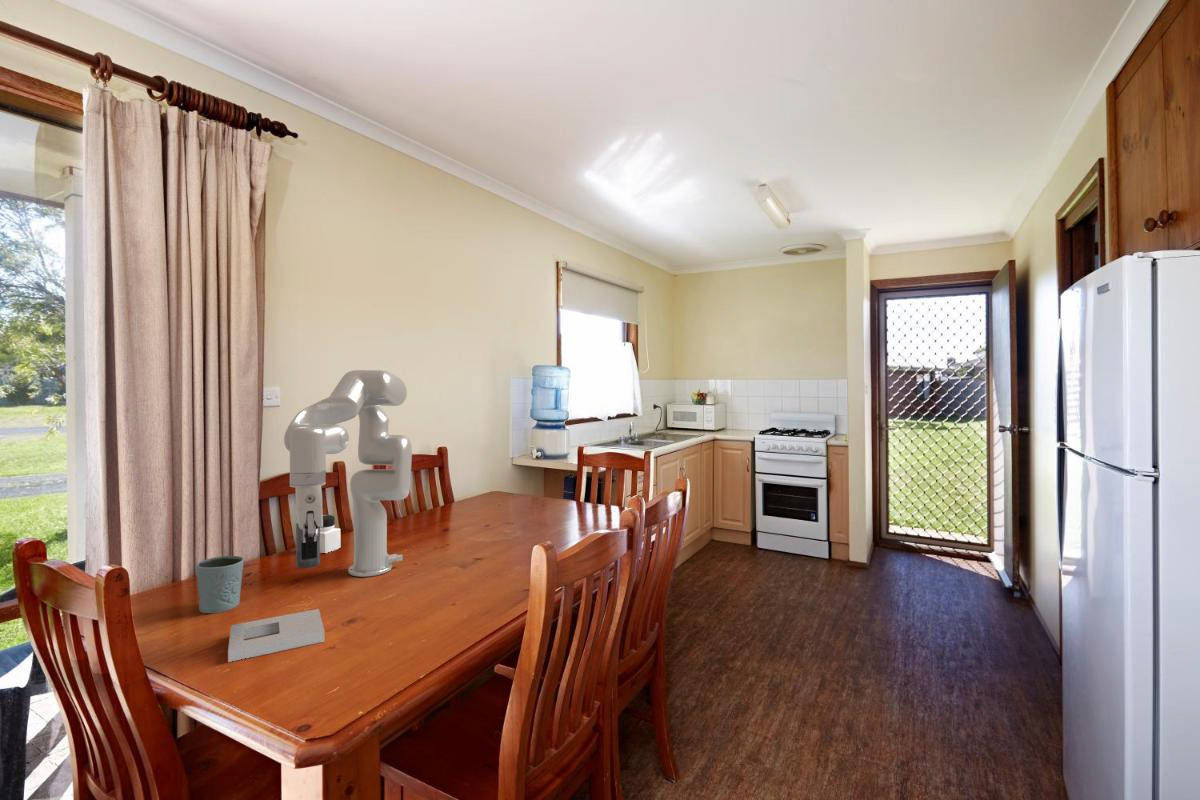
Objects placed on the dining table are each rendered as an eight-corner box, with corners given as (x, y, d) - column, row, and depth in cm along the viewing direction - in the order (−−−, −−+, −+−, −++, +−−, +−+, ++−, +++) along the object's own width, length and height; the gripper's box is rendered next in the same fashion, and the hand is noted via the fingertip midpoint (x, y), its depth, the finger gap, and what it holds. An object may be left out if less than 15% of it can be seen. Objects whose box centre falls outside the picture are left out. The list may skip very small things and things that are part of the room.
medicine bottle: (341, 548, 193) (340, 514, 192) (324, 554, 186) (324, 519, 185) (325, 546, 195) (325, 513, 195) (308, 552, 188) (308, 517, 188)
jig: (318, 618, 135) (318, 608, 135) (324, 641, 123) (324, 630, 123) (231, 635, 125) (231, 625, 125) (228, 662, 114) (228, 650, 113)
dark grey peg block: (318, 560, 132) (318, 519, 132) (321, 566, 128) (321, 523, 128) (295, 563, 130) (295, 522, 129) (297, 569, 125) (297, 526, 125)
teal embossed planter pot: (193, 606, 142) (193, 560, 141) (239, 596, 149) (238, 552, 148) (200, 618, 134) (200, 570, 134) (248, 607, 142) (247, 561, 141)
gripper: (330, 482, 123) (330, 562, 124) (321, 473, 138) (321, 544, 138) (292, 485, 119) (292, 568, 120) (287, 475, 134) (287, 549, 134)
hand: (308, 554), depth 129 cm, fingers closed on dark grey peg block, 5 cm apart
